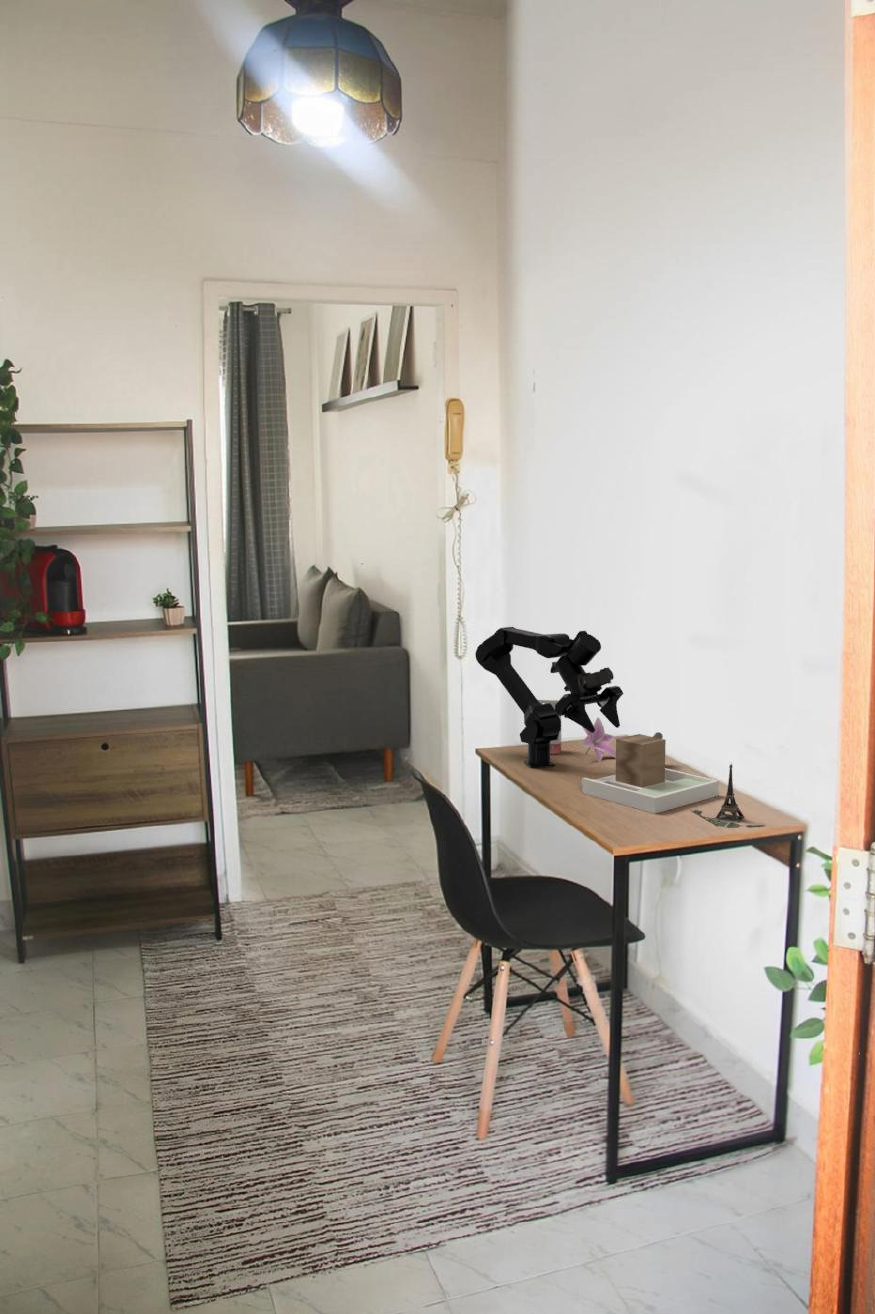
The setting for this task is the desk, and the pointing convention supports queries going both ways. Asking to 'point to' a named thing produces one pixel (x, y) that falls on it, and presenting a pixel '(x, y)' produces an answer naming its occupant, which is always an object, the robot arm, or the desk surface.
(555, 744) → the ink cartridge box
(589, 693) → the robot arm
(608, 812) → the desk surface
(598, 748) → the lily
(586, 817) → the desk surface
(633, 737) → the walnut block
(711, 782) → the box
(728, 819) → the eiffel tower figurine
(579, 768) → the desk surface
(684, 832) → the desk surface
